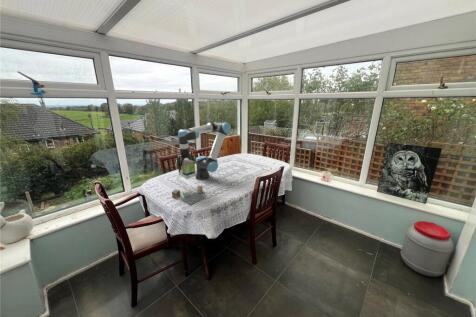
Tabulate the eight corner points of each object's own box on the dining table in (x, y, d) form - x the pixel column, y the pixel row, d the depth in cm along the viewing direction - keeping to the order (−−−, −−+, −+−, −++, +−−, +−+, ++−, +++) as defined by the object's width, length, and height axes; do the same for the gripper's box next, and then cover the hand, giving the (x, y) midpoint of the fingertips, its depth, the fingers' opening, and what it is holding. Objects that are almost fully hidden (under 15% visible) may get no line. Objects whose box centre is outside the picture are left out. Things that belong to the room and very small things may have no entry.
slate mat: (195, 192, 171) (195, 191, 171) (205, 197, 163) (205, 197, 162) (180, 199, 160) (180, 198, 159) (190, 205, 151) (190, 204, 151)
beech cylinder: (200, 190, 175) (200, 184, 173) (204, 192, 172) (203, 186, 170) (196, 192, 171) (195, 186, 169) (199, 194, 168) (199, 188, 166)
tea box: (196, 176, 170) (194, 161, 165) (186, 179, 164) (184, 164, 159) (188, 171, 181) (186, 157, 176) (178, 174, 174) (176, 159, 169)
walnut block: (175, 194, 168) (175, 189, 167) (180, 195, 167) (179, 190, 165) (172, 196, 164) (171, 191, 162) (176, 197, 162) (176, 192, 161)
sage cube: (187, 193, 169) (186, 190, 168) (188, 195, 166) (188, 191, 164) (182, 195, 167) (182, 191, 165) (184, 197, 164) (183, 193, 162)
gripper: (192, 144, 174) (194, 166, 181) (170, 150, 157) (173, 173, 165) (197, 146, 169) (199, 168, 177) (175, 151, 153) (178, 176, 160)
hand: (186, 171), depth 171 cm, fingers closed on tea box, 10 cm apart
